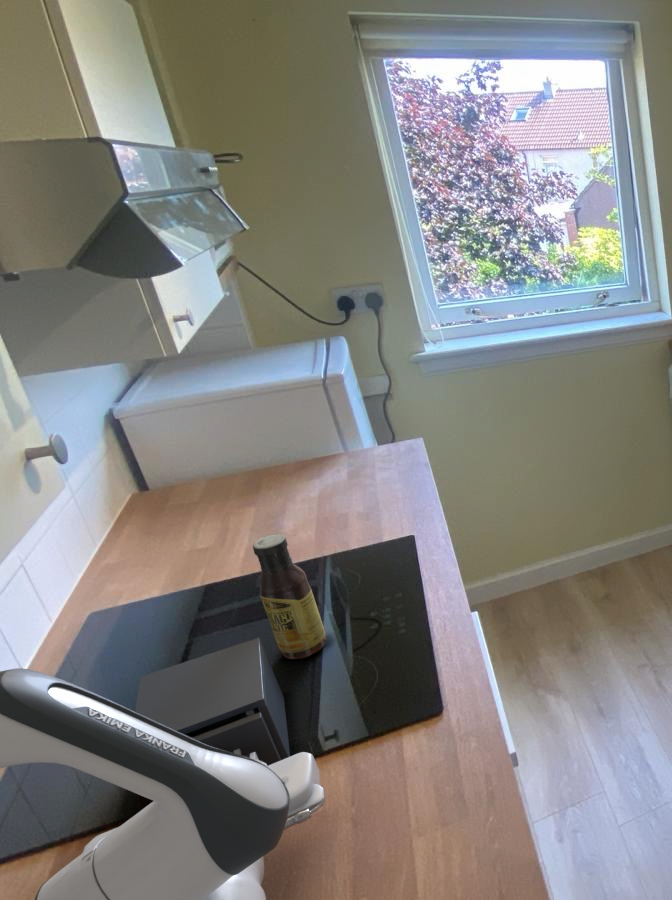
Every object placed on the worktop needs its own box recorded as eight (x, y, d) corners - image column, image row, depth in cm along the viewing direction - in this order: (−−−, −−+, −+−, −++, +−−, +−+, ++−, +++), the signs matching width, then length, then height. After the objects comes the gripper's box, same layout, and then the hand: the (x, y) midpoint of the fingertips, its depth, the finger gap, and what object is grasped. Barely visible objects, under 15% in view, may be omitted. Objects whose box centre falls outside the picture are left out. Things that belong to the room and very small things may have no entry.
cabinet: (291, 763, 94) (263, 698, 90) (165, 815, 87) (128, 748, 83) (283, 697, 105) (259, 637, 101) (171, 739, 98) (139, 676, 94)
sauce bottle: (273, 657, 113) (228, 547, 105) (309, 632, 119) (270, 526, 110) (303, 666, 111) (260, 555, 103) (339, 640, 117) (301, 533, 108)
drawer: (286, 794, 89) (262, 739, 85) (165, 846, 83) (133, 789, 79) (278, 708, 102) (257, 657, 98) (173, 747, 96) (146, 695, 92)
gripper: (318, 788, 79) (307, 712, 89) (63, 899, 68) (84, 799, 78) (335, 829, 81) (322, 751, 92) (92, 942, 70) (108, 839, 81)
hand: (211, 774), depth 85 cm, fingers closed on drawer, 6 cm apart
